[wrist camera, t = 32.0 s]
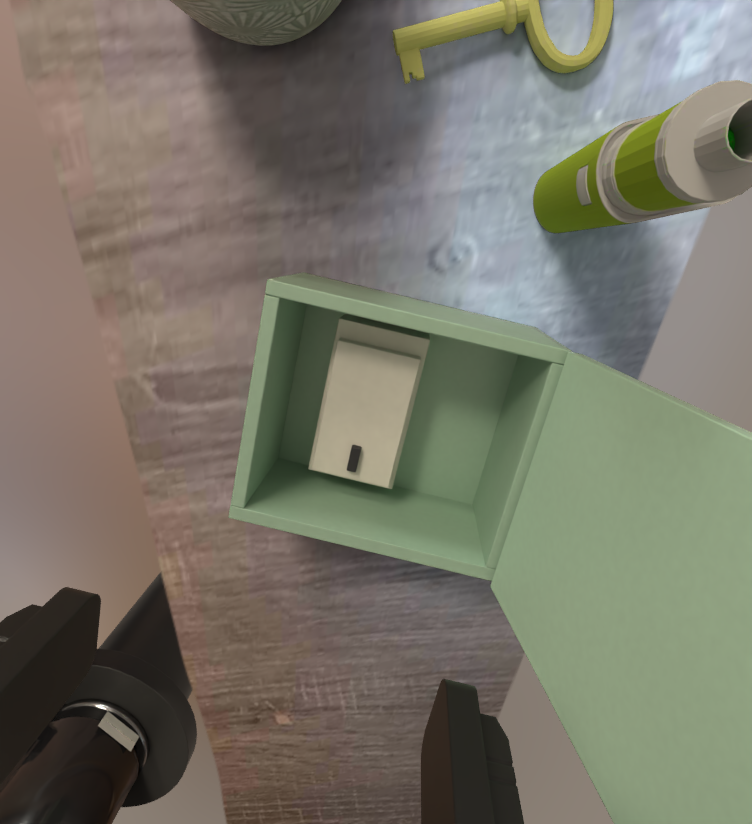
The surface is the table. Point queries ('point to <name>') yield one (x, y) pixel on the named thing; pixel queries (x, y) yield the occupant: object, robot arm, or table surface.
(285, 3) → the planter
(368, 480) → the white power adapter
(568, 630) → the lid
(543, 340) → the box
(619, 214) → the vape
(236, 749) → the table surface
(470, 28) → the key
